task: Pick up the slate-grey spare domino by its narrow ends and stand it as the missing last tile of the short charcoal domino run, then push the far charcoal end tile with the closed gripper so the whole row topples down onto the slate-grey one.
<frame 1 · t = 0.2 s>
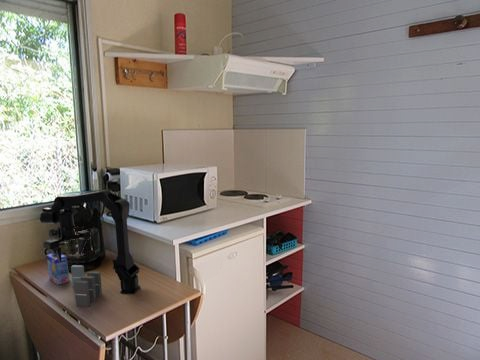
hand: (70, 258, 153), 14 cm above the table, fingers open, 9 cm apart
citrus juicer: (84, 260, 186), on the table
ink cartridge box: (59, 280, 163), on the table
domino 2: (89, 299, 143), on the table
domino 3: (95, 294, 148), on the table
spare domino: (79, 287, 155), on the table
domino 1: (83, 305, 139), on the table
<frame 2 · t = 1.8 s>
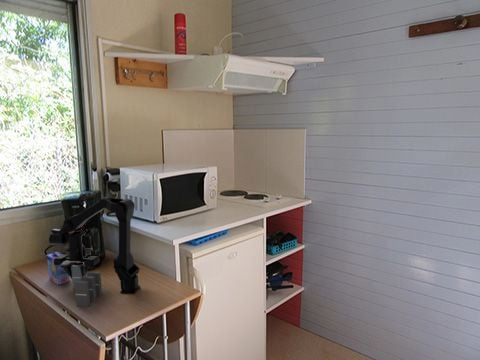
hand: (78, 278, 154), 4 cm above the table, fingers closed on spare domino, 5 cm apart
spare domino: (79, 287, 155), on the table, touching gripper
everything else where it was.
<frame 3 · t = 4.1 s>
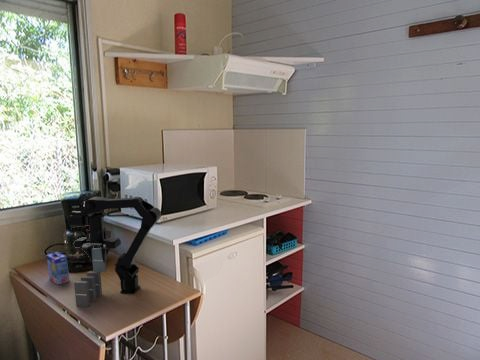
hand: (99, 261, 150), 13 cm above the table, fingers closed on spare domino, 5 cm apart
spare domino: (99, 270, 151), point 9 cm above the table, touching gripper
everything else where it was.
when the fingers open (5 cm above the table, at t = 6.6 s): spare domino drops 1 cm, on the table.
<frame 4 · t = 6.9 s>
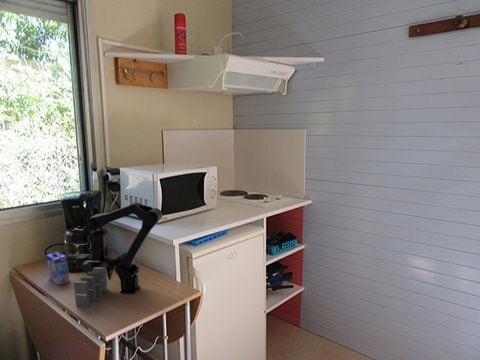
hand: (100, 278, 151), 5 cm above the table, fingers open, 8 cm apart
spare domino: (101, 289, 152), on the table
everything else where it was.
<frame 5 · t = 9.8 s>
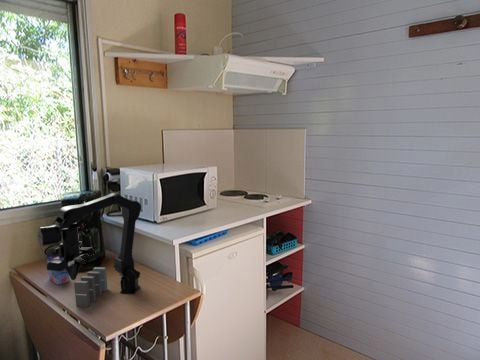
hand: (73, 279, 133), 13 cm above the table, fingers closed
nothing on the table moved.
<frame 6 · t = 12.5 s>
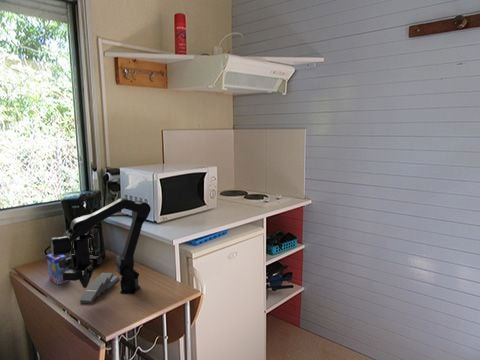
hand: (85, 287, 140), 6 cm above the table, fingers closed
domino 2: (91, 296, 145), point 1 cm above the table, tilted 67°, touching domino 3
domino 3: (97, 291, 149), point 1 cm above the table, tilted 68°, touching domino 2, spare domino
spare domino: (102, 287, 153), point 1 cm above the table, tilted 90°, touching domino 3
domino 1: (85, 301, 140), point 1 cm above the table, tilted 68°
everything else where it was.
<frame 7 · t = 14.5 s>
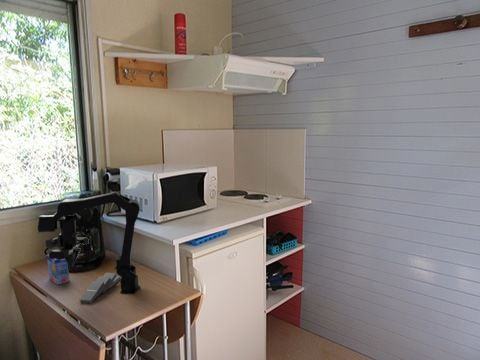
hand: (71, 267, 143), 13 cm above the table, fingers closed
domino 2: (91, 295, 145), point 1 cm above the table, tilted 68°, touching domino 1, domino 3
domino 3: (98, 291, 149), point 1 cm above the table, tilted 70°, touching domino 2
spare domino: (103, 287, 153), point 1 cm above the table, tilted 90°
domino 1: (85, 301, 141), point 1 cm above the table, tilted 68°, touching domino 2
everything else where it was.
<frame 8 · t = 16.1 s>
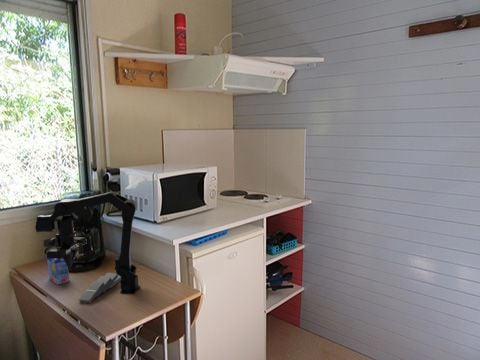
hand: (69, 267, 145), 13 cm above the table, fingers closed
at the end: spare domino tilted 90°; domino 3 tilted 70°; spare domino inside the target area (0.8 cm from its centre), point 0.6 cm above the table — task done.
